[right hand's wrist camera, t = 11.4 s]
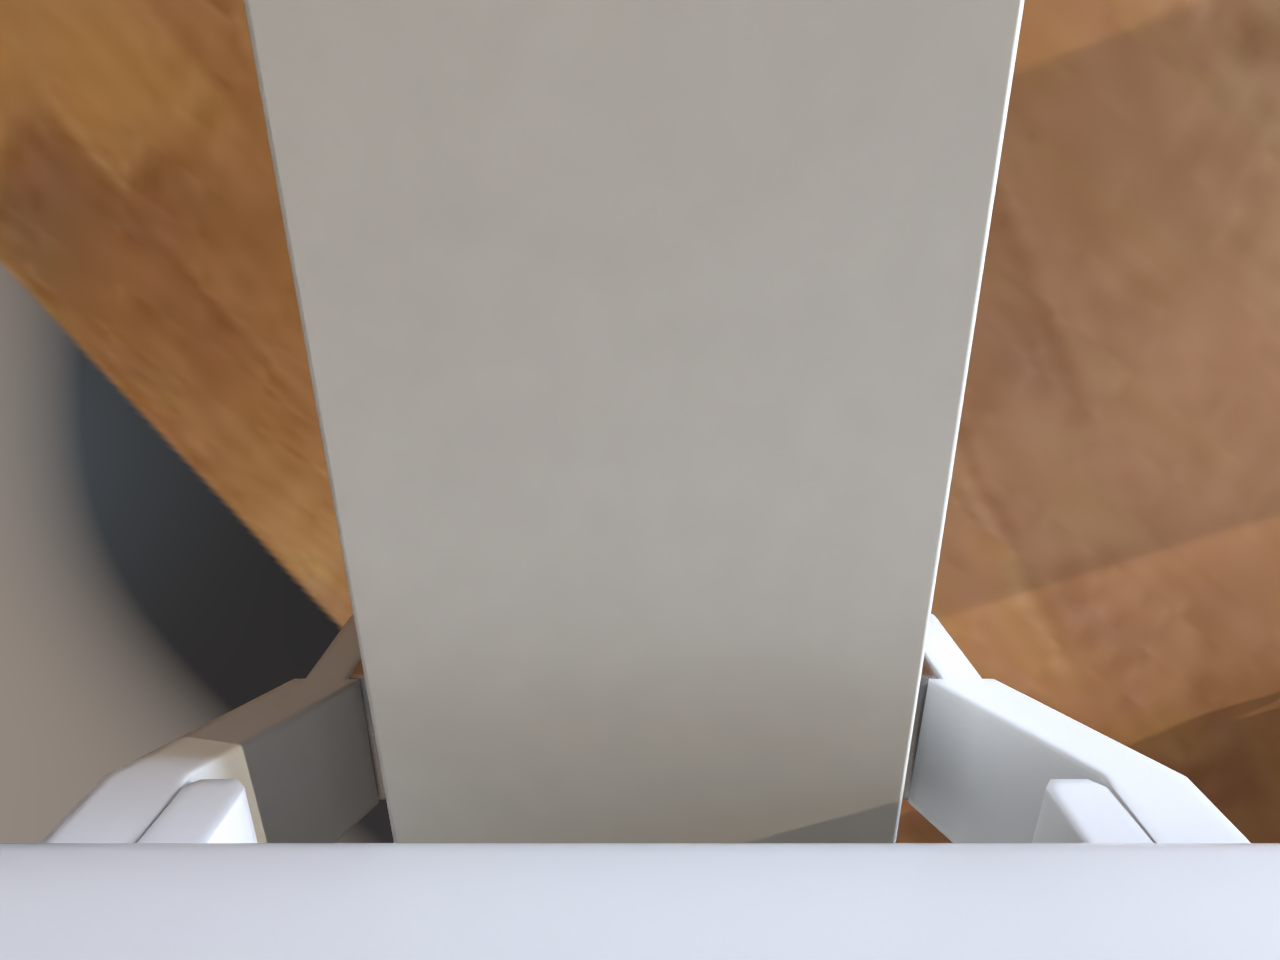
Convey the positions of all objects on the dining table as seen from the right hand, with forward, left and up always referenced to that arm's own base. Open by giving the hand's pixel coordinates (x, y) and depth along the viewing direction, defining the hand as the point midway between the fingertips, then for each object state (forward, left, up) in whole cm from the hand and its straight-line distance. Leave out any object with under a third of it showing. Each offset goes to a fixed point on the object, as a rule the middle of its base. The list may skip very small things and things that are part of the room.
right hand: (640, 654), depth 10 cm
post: (-3, -25, -3) cm, 26 cm away
